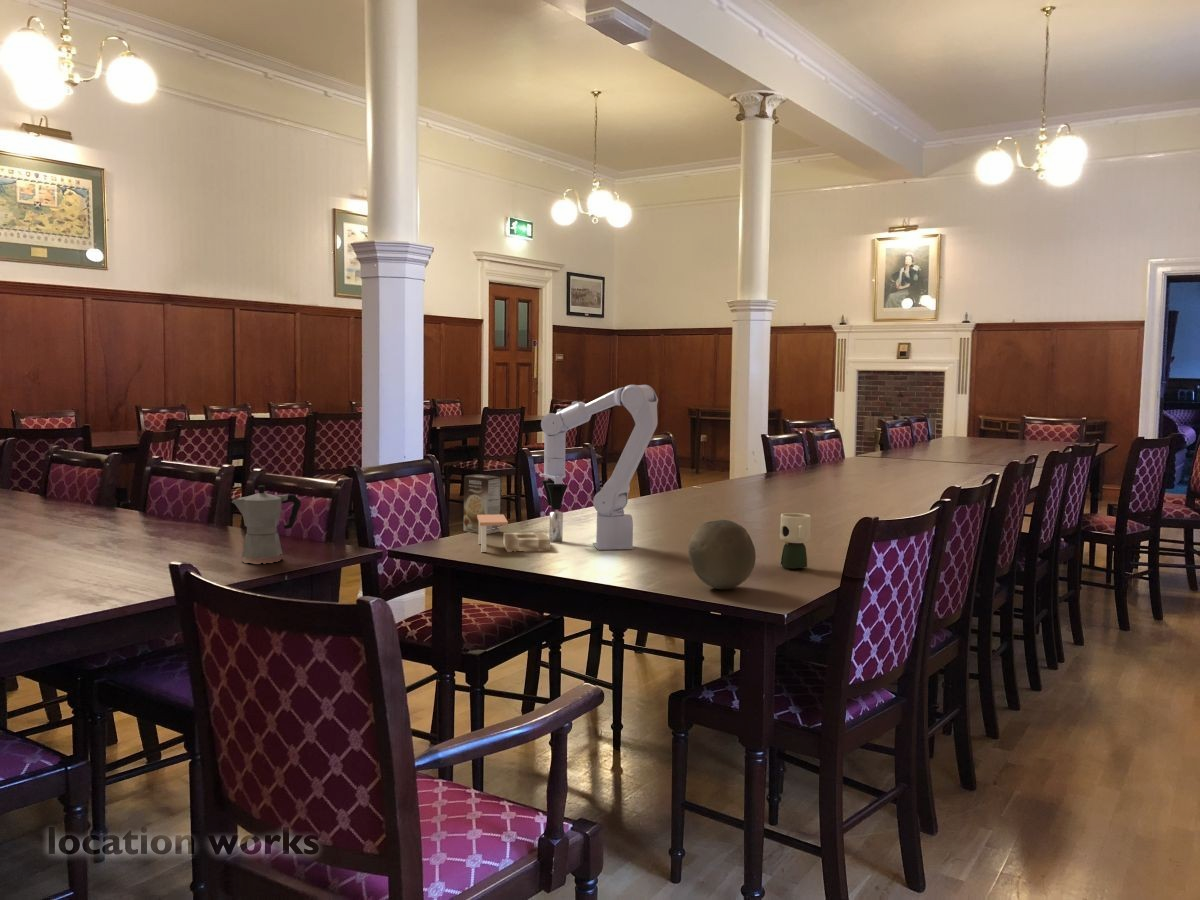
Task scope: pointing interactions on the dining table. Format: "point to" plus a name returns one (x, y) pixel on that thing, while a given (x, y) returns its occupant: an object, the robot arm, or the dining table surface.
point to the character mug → (794, 539)
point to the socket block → (526, 541)
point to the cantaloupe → (722, 554)
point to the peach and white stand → (488, 521)
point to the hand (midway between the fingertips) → (554, 507)
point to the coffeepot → (264, 522)
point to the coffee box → (481, 500)
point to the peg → (556, 527)
